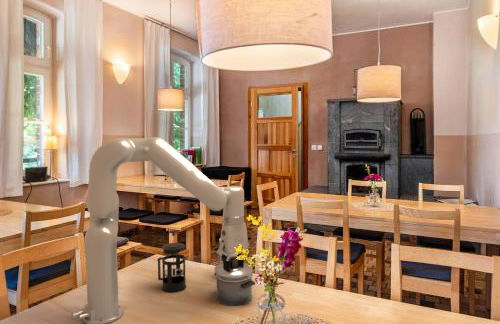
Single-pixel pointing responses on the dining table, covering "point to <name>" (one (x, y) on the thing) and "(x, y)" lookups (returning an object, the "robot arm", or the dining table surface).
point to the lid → (233, 270)
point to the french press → (173, 273)
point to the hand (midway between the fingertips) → (233, 267)
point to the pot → (234, 290)
